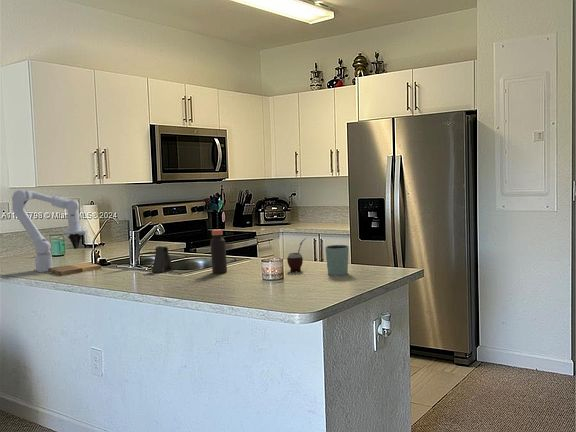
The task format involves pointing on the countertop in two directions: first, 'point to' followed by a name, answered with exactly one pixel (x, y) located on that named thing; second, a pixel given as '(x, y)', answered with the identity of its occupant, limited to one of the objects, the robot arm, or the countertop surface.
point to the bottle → (218, 252)
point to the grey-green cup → (337, 259)
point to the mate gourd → (295, 260)
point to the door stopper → (162, 260)
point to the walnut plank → (64, 270)
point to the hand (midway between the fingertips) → (76, 248)
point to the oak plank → (87, 266)
